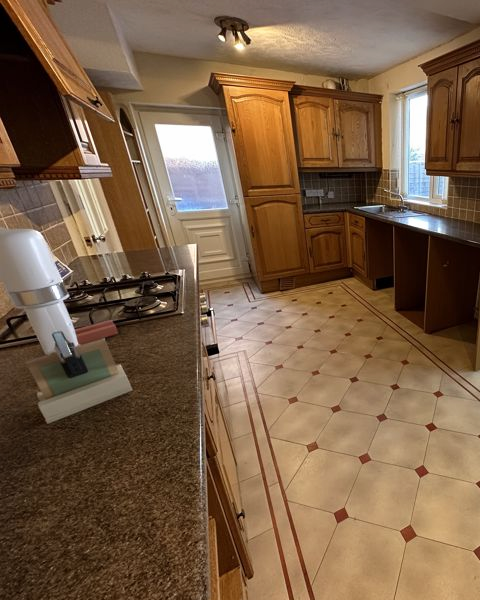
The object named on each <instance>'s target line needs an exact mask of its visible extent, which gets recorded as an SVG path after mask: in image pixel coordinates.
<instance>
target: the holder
mask: <svg viewBox="0 0 480 600" xmlns="http://www.w3.org/2000/svg"><path fill="white" fill-rule="evenodd" d="M116 367H117V369H118V372H119V374H117V375H114V376H111V377H108V378H105V379H103V380H100V381H97V382H94V383H91V384H89V385H86V386H83V387H80V388H78V389H75V390H72V391H69V392H66V393H64V394H61V395H58V396H55V397H52V398H50V399H47V400H46V399H45V397H44V395H43V393H42V392H41V391H37V392H36V396H37V397H36V398H37V399H38V402H37V405H38V409H39V411H40V412H41V414H42V416H43V418H44V421H45V422H46V424H47V425H48V424H51V423H54V422H56V421H60V420H61V419H65V418H67V417H69V416H71V415H75V414H76V413H79V412H81V411H84V410H88V409H90V408H92V407H94V406H97V405H100V404H101V403H104V402H107V401H109V400H112V399H115V398H117V397H119V396H122V395H125V394H127V393H130V392H132V391H133V388H132V386H131V383H130V380H129V378H128V376H127V374H126V372H125V371H124V369H123V367H122V365H121V364H116Z"/></svg>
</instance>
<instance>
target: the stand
mask: <svg viewBox="0 0 480 600" xmlns="http://www.w3.org/2000/svg"><path fill="white" fill-rule="evenodd" d="M74 330H75V333H76V337H77V341H78V344H80V345H83V344H86V343H90V342H93V341H97V340H100V339H103V338H104V339H105V338H107V337H110V336H115V335H118V334H119V331H118V329H117V326H116V324H115V323H114V322H113V319H108V320H104V321H102V322H98V323H97V322H96V323H94V324H89V325H86V326H83V327H78V328H74Z"/></svg>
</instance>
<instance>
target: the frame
mask: <svg viewBox="0 0 480 600" xmlns="http://www.w3.org/2000/svg"><path fill="white" fill-rule="evenodd" d="M75 348H76V350H77V352H78V354H79V356H81V357H82V359H83V361H84V363H85V365H86V367H87V369H88V372H87V373H85V374H82V375H79V376H76V377H73V378H68V377H67V375H66V373H65V371H64V369H63V367H62V365H61V363H60V362H61V360H60V358H59V356H58V354H57V353H52V354H51V355H46V354H44V355H42V356H38V357H36V358H32V359H29V360H26V361H25V364H26V367H27V368H28V370H29V372H30V374H31V376H32V377H33V379H34V381H35V383H36V385H37V386H38V388H39V390H40V392H42V393H43V395H44V397H45V399H46V400H47V399H50V398H52V397H55V396H58V395H61V394H64V393H66V392H69V391H72V390H75V389H78V388H80V387H83V386H86V385H89V384H91V383H94V382H97V381H100V380H103V379H105V378H108V377H111V376H114V375H117V374H119V372H118V369H117V367H116V366H117V364H116V362H115V360H114V358H113V356H112V353H111V351H110V348H109V346H108V344H107V341H106V339H105V337H104V338H101V339H98V340H94V341H91V342H87V343H84V344H80V346H77V347H75ZM71 350H72V349H71ZM71 350H70V351H71ZM72 351H73V350H72Z"/></svg>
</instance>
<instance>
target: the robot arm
mask: <svg viewBox="0 0 480 600" xmlns="http://www.w3.org/2000/svg"><path fill="white" fill-rule="evenodd" d="M0 283H1V284H2V286H3V288H4V290H5V291H6V294H7V296H8V297H9V299H10V302H11V304H12V305H13V307H14V308H15V309H18V310H24V312H25V314H26V317H27V319H28V321H29V324H30V326H31V327H32V330H33V331H34V334H35V336H36V338H37V340H38V342H39V344H40V346H41V348H42V351H43V353H44V355H51V353H54V348H55V350H56V353H57V354H58V356H59V358H60V360H61V362H60V363H61V365H62V367H63V369H64V371H65V373H66V375H67V377H68V378H73V377H76V376H79V375H82V374H85V373H87V372H88V369H87V367H86V365H85V363H84V361H83V359H82V357H81V356H79V354H78V352H77V350H76V348H75V347H77V346H78V341H77V337H76V333H75V330H74V329H75V327H74V324H73V321H72V318H71V317H70V314H69V312H68V309H67V307H66V305H65V302H64V300H67V299H68V298H69V297H70V294H69V292H68V289H67V287H66V285H65V282H64V280H63V278H62V276H61V274H60V272H59V269H58V267H57V265H56V263H55V260H54V259H53V256H52V254H51V251H50V249H49V247H48V244H47V242H46V241H45V238H44V236H43V235H42V233H41V232H39V231H38V230H36V229H33V228H6V227H1V226H0ZM71 349H72V350H73V351H72V350H71ZM70 350H71V351H70Z"/></svg>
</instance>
